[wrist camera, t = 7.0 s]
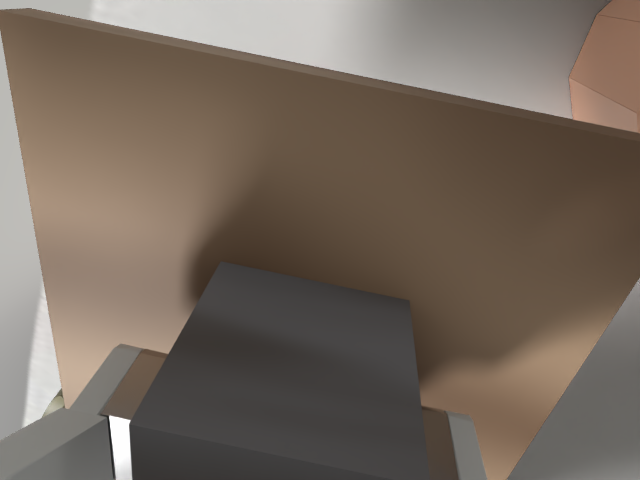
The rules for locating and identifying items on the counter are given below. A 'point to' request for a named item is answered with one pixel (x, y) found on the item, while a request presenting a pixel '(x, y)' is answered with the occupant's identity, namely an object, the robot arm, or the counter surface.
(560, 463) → the counter surface
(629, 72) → the bowl
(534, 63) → the counter surface
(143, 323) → the lid
